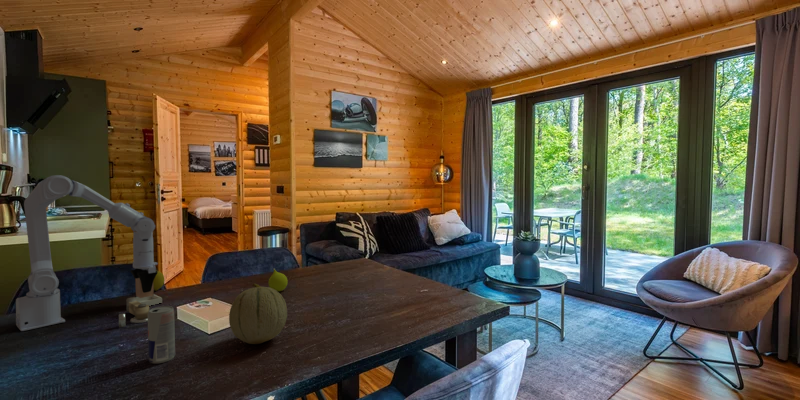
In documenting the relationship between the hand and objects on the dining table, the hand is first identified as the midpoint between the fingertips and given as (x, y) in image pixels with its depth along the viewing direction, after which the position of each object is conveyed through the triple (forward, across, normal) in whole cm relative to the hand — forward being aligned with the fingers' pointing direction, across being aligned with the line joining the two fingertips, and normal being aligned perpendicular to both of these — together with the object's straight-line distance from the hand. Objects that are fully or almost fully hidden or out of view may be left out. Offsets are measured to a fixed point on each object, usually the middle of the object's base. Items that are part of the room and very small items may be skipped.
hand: (144, 290), depth 130 cm
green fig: (+5, -22, -38) cm, 44 cm away
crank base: (+5, -16, +8) cm, 18 cm away
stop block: (+2, 0, 0) cm, 2 cm away
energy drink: (+5, -49, +13) cm, 51 cm away
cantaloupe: (+5, -58, -7) cm, 59 cm away
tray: (+5, 0, 0) cm, 5 cm away
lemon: (+5, +15, -9) cm, 18 cm away
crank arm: (+4, -12, +6) cm, 14 cm away
